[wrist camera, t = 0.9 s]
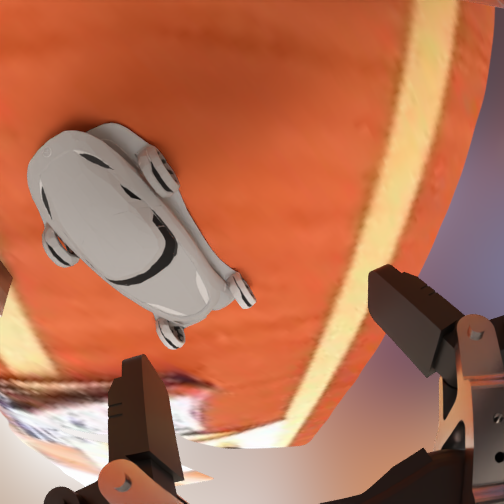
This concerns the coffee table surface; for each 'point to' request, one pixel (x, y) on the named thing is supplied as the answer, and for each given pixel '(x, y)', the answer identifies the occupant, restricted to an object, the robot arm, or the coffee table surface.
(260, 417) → the coffee table surface
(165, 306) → the car model
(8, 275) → the chock
